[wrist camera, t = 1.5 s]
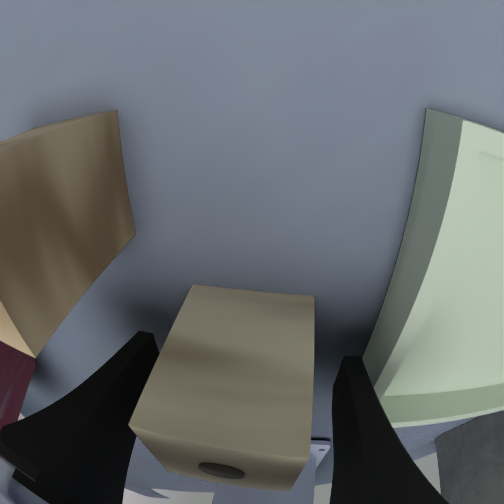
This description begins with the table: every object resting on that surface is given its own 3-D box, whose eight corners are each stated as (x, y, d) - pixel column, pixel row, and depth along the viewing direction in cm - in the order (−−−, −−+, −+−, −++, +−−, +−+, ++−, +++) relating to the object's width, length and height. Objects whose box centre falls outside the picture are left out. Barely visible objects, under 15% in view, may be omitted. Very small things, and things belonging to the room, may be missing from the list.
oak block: (136, 234, 10) (33, 360, 5) (53, 228, 11) (-40, 319, 6) (117, 109, 8) (-51, 179, 3) (31, 129, 9) (-94, 194, 3)
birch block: (300, 368, 13) (288, 493, 8) (205, 357, 14) (167, 473, 8) (314, 295, 11) (309, 461, 5) (192, 283, 11) (126, 427, 6)
